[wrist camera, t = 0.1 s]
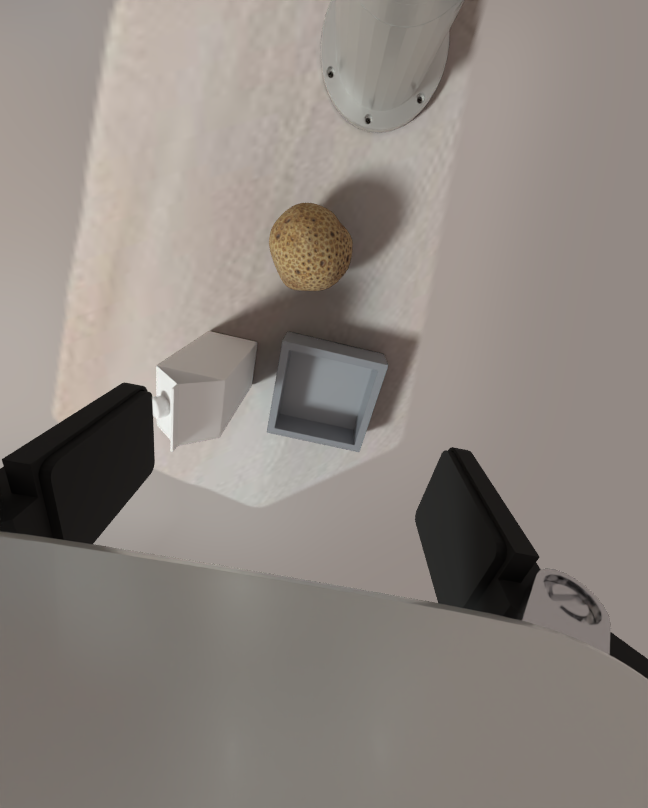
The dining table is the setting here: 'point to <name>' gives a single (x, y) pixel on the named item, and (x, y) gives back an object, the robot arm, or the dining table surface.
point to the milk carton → (202, 387)
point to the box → (325, 391)
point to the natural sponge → (310, 247)
